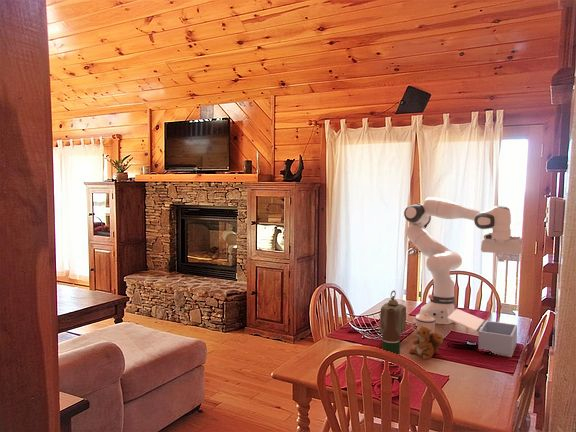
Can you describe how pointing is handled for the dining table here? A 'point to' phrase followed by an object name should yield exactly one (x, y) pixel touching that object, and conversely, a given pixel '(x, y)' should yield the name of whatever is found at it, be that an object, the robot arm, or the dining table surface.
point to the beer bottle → (391, 335)
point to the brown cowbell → (399, 315)
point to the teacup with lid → (425, 322)
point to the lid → (466, 320)
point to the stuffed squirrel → (426, 343)
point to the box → (498, 338)
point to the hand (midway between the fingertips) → (501, 261)
